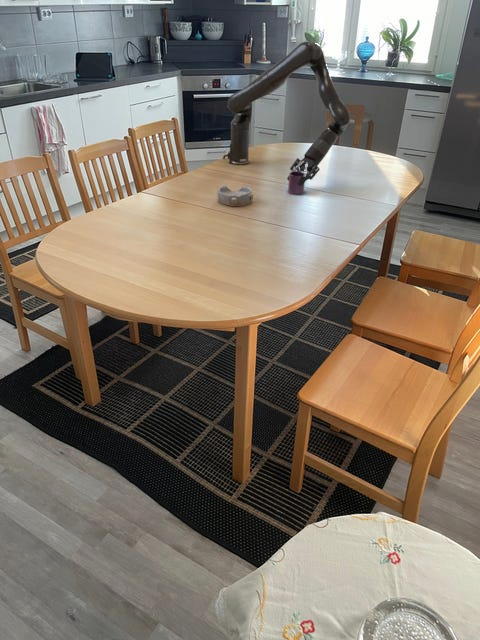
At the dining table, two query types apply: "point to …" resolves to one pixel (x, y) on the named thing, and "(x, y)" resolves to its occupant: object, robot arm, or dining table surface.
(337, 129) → the robot arm
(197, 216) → the dining table surface
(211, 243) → the dining table surface
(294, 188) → the cup
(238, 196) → the dish
